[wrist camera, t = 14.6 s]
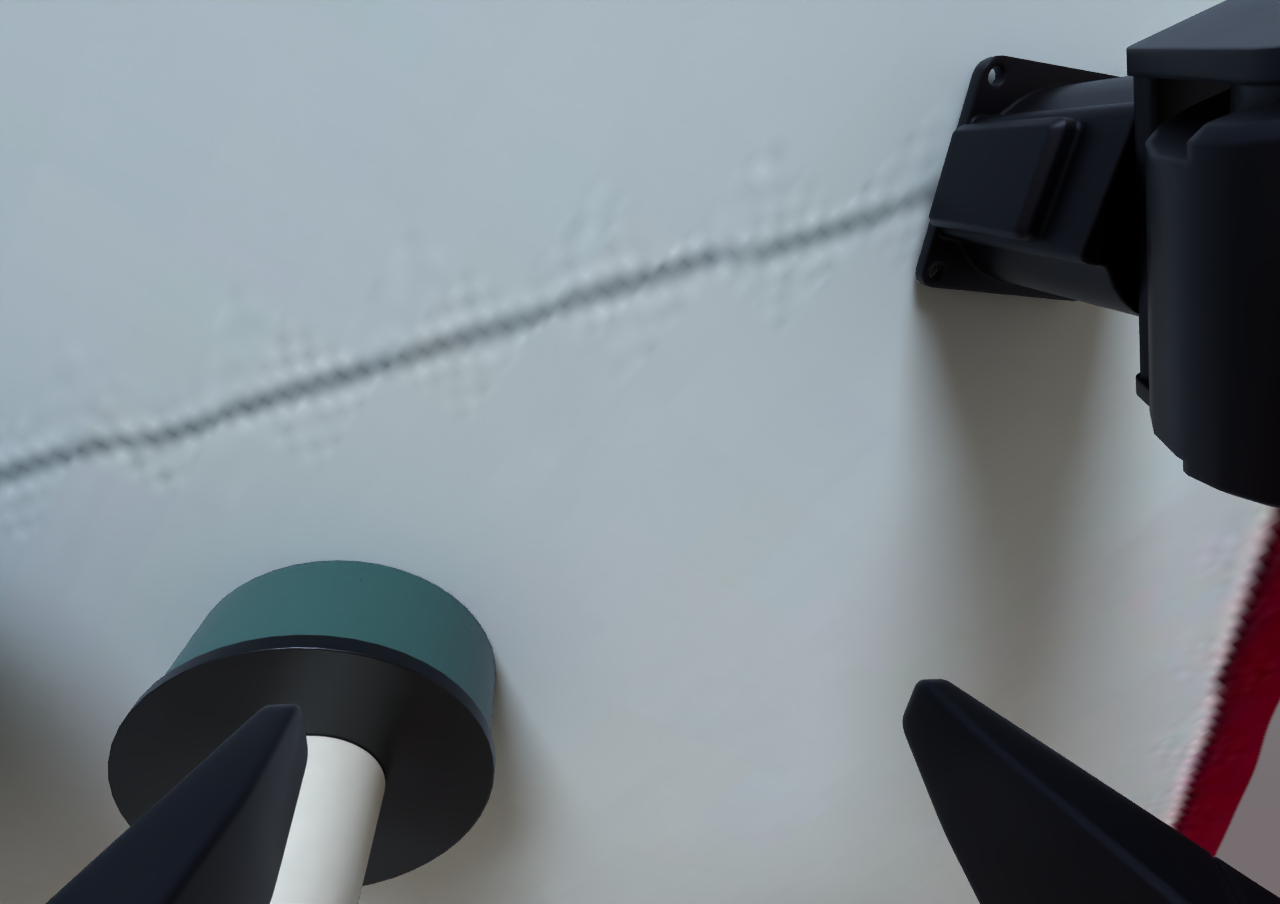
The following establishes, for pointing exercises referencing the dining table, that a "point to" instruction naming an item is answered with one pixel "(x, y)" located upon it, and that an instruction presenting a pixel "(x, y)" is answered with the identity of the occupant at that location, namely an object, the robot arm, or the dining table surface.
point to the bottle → (331, 825)
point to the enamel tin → (333, 697)
